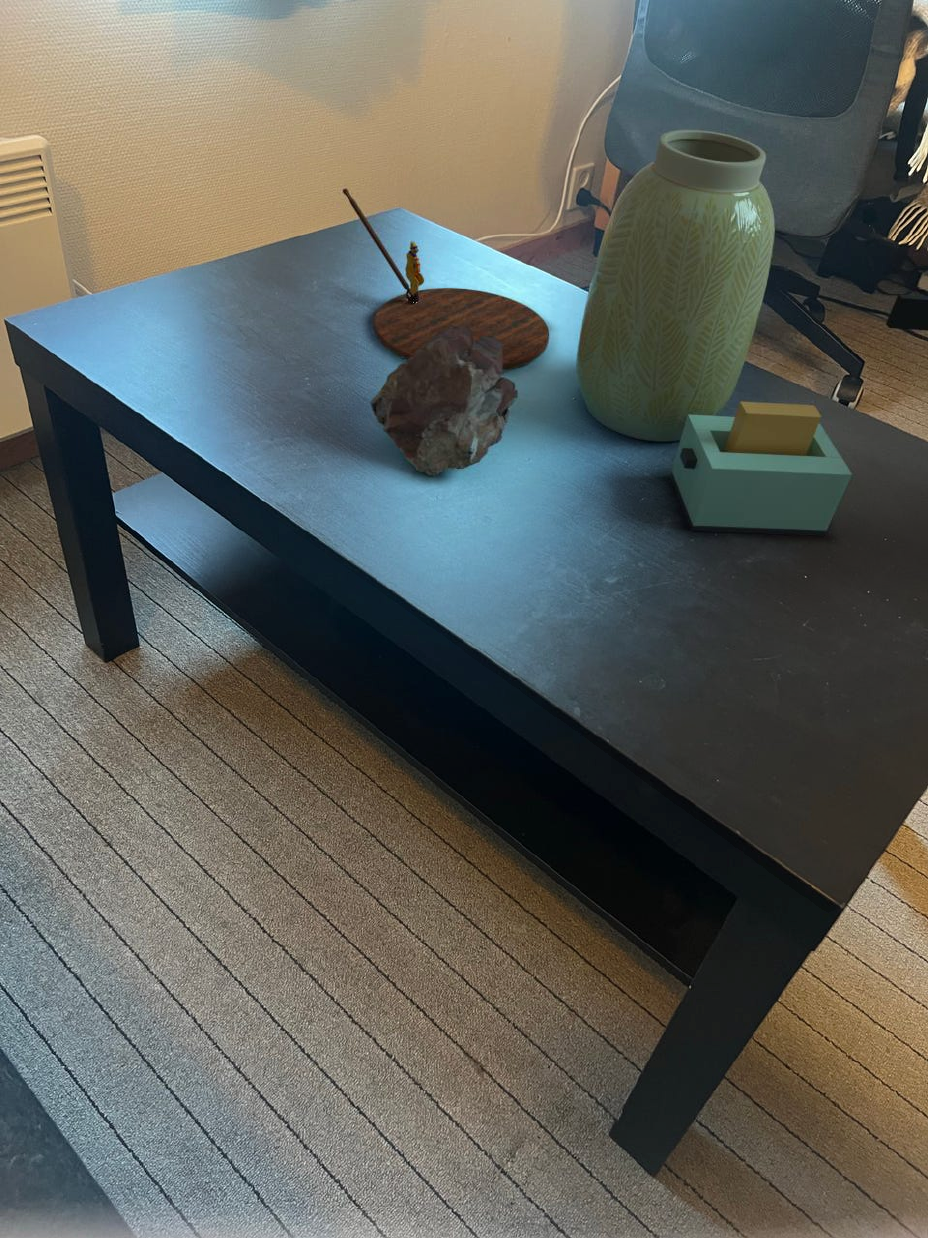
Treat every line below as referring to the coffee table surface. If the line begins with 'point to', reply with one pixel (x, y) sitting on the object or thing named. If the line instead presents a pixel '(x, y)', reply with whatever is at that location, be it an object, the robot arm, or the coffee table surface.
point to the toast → (772, 429)
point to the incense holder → (453, 314)
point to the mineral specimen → (447, 401)
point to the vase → (677, 287)
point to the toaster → (755, 483)
